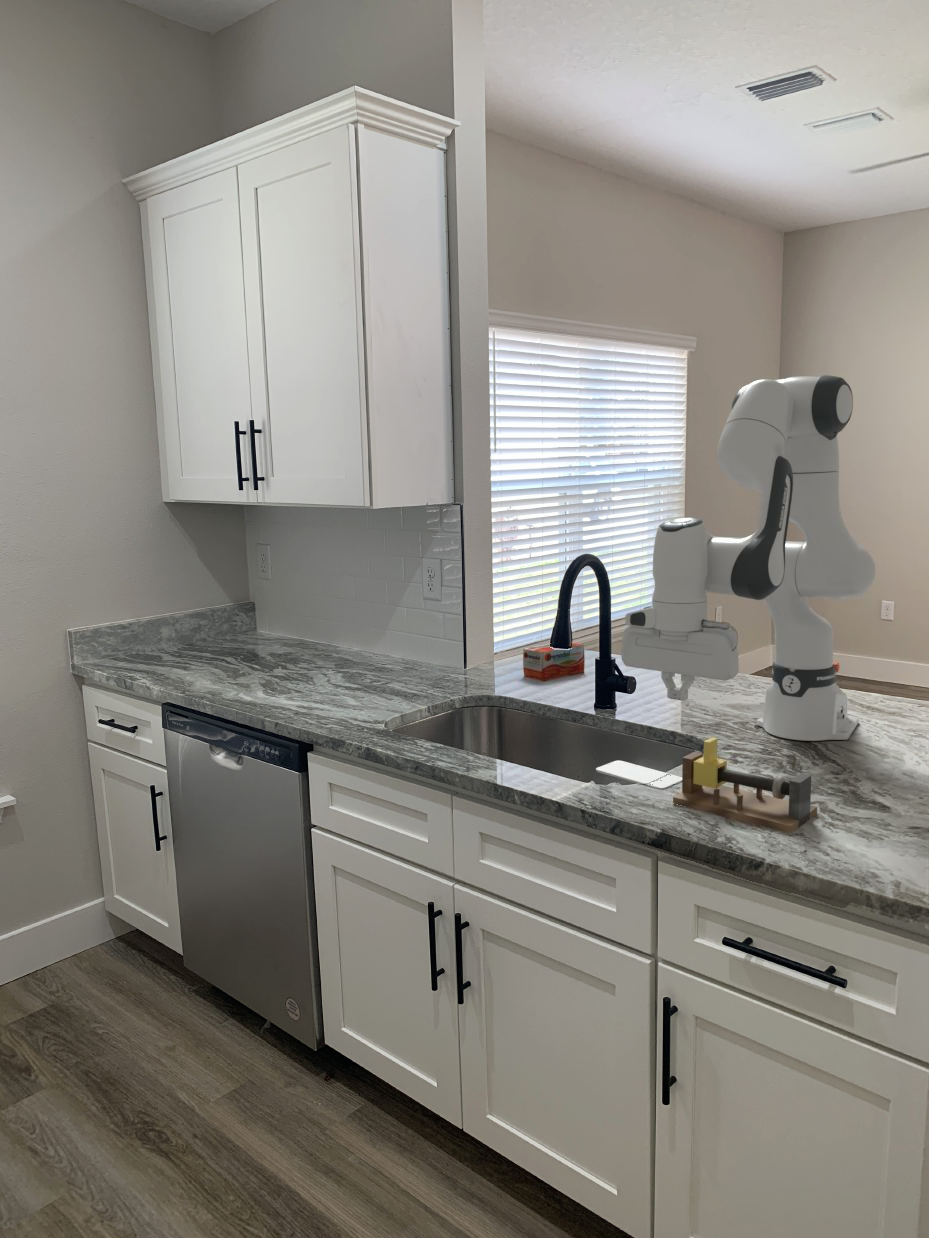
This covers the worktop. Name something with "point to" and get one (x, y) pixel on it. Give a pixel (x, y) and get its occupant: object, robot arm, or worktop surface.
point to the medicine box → (552, 662)
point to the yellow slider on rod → (750, 797)
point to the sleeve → (709, 766)
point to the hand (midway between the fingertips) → (677, 699)
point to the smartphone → (638, 774)
